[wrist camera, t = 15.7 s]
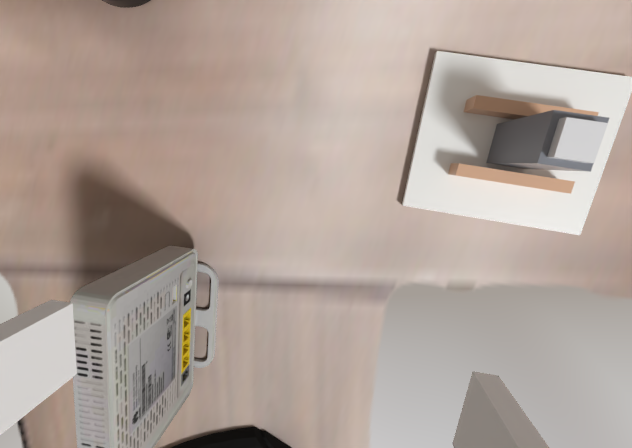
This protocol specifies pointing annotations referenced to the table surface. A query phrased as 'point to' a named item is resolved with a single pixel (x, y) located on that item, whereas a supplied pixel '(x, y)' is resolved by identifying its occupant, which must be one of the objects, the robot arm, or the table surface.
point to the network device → (138, 348)
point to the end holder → (478, 130)
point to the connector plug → (549, 141)
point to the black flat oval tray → (236, 440)
